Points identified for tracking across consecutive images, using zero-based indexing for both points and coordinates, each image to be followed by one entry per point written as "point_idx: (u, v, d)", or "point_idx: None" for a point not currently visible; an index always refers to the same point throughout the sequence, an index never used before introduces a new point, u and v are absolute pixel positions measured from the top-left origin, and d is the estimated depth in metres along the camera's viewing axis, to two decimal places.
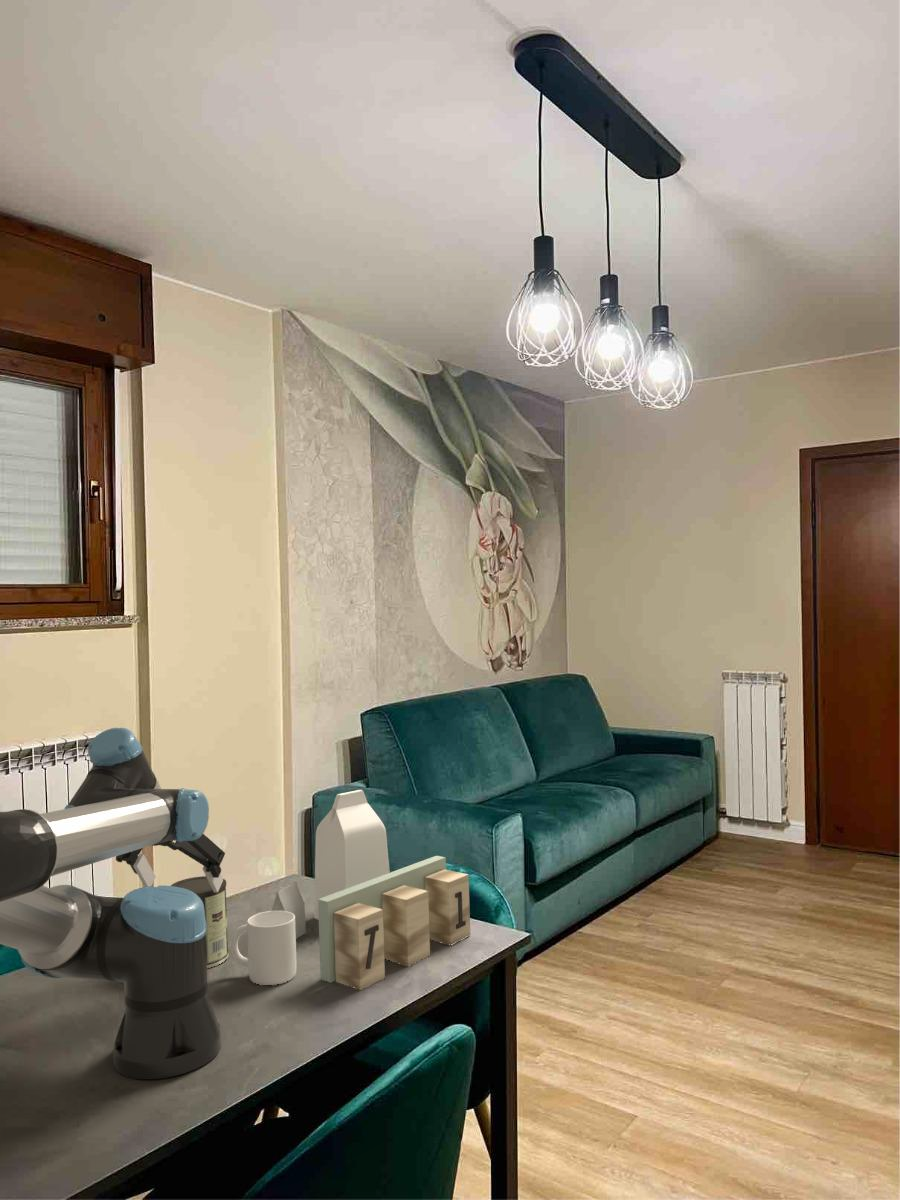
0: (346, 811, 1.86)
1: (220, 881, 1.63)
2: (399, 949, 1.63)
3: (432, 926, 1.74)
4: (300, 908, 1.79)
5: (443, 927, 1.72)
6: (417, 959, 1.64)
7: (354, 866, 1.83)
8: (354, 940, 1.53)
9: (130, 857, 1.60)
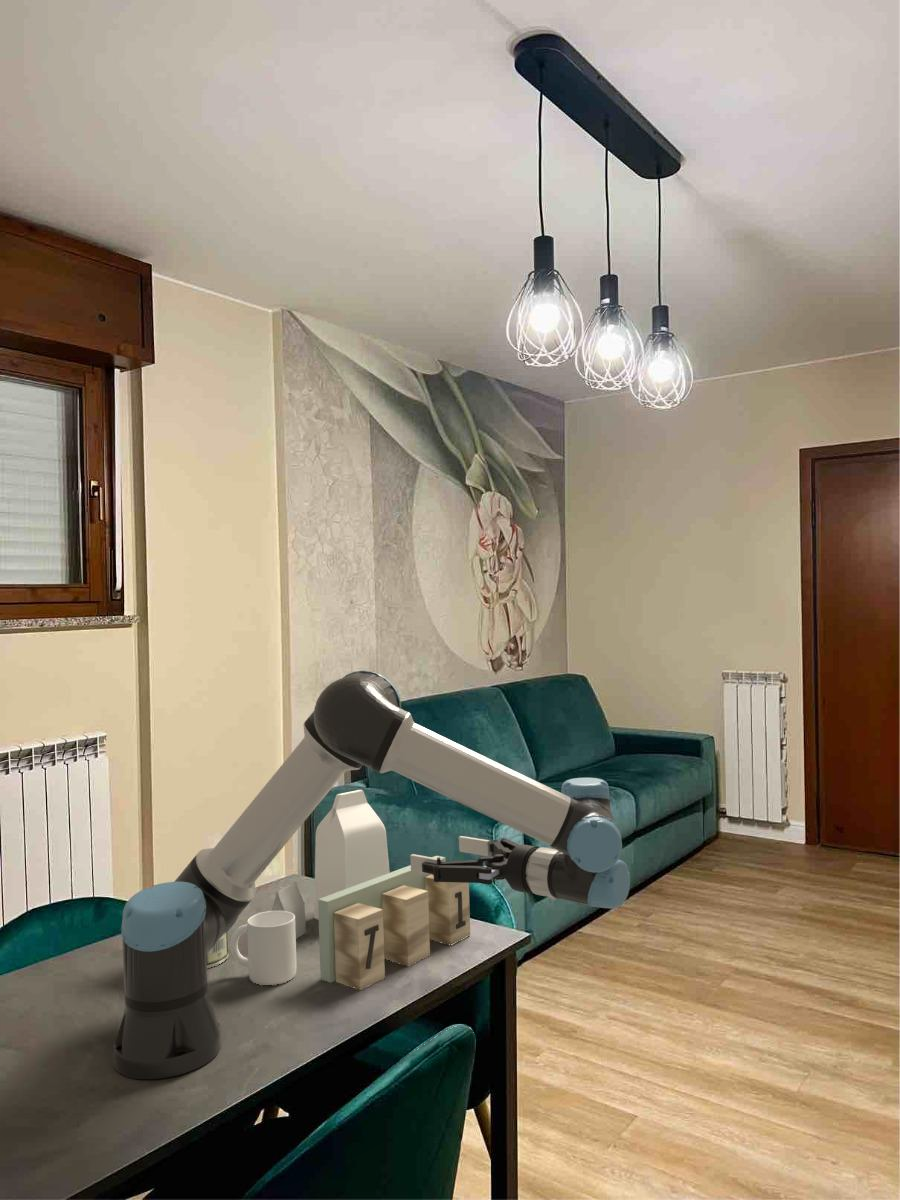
0: (346, 811, 1.86)
1: (413, 866, 1.55)
2: (399, 949, 1.63)
3: (432, 926, 1.74)
4: (300, 908, 1.79)
5: (443, 927, 1.72)
6: (417, 959, 1.64)
7: (354, 866, 1.83)
8: (354, 940, 1.53)
9: (498, 843, 1.61)
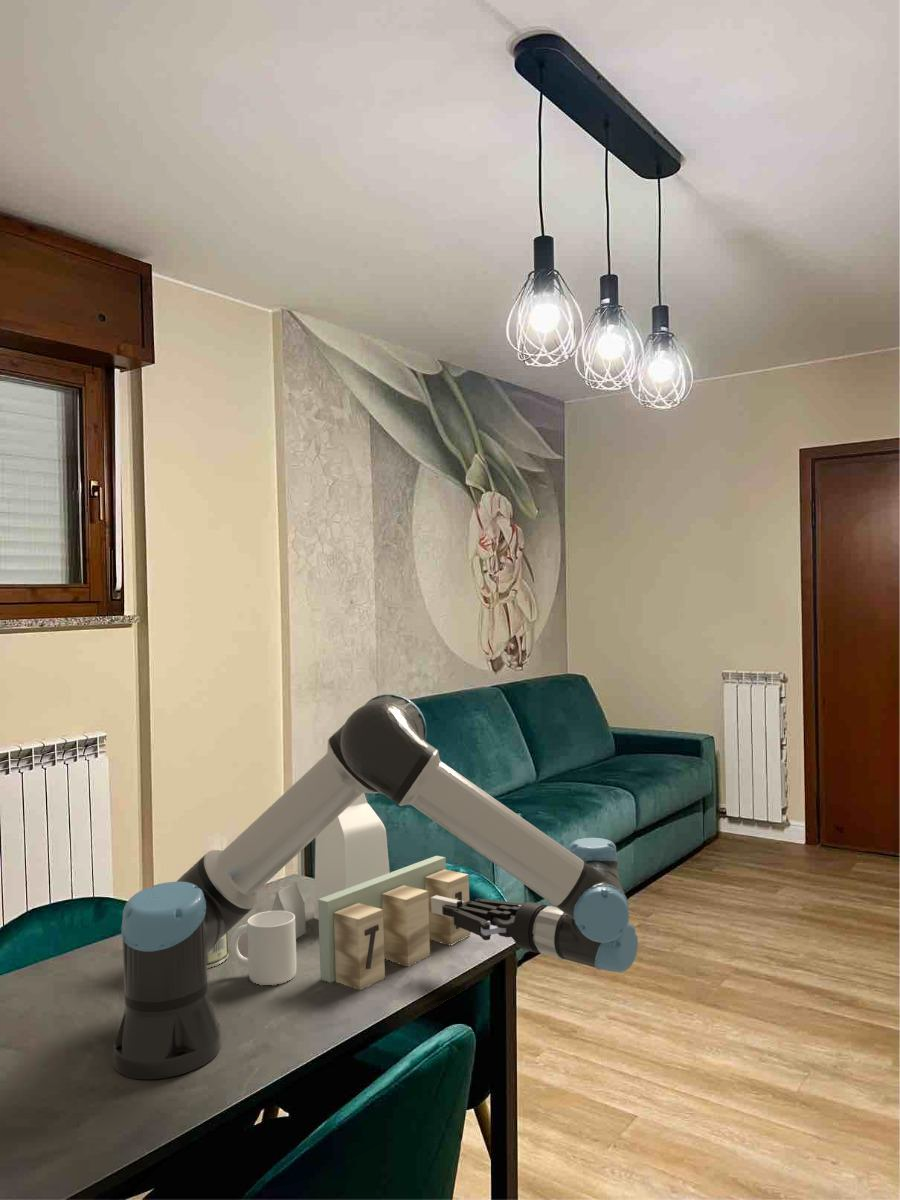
0: (346, 811, 1.86)
1: (434, 908, 1.61)
2: (399, 949, 1.63)
3: (432, 926, 1.74)
4: (300, 908, 1.79)
5: (443, 927, 1.72)
6: (417, 959, 1.64)
7: (354, 866, 1.83)
8: (354, 940, 1.53)
9: (478, 903, 1.58)
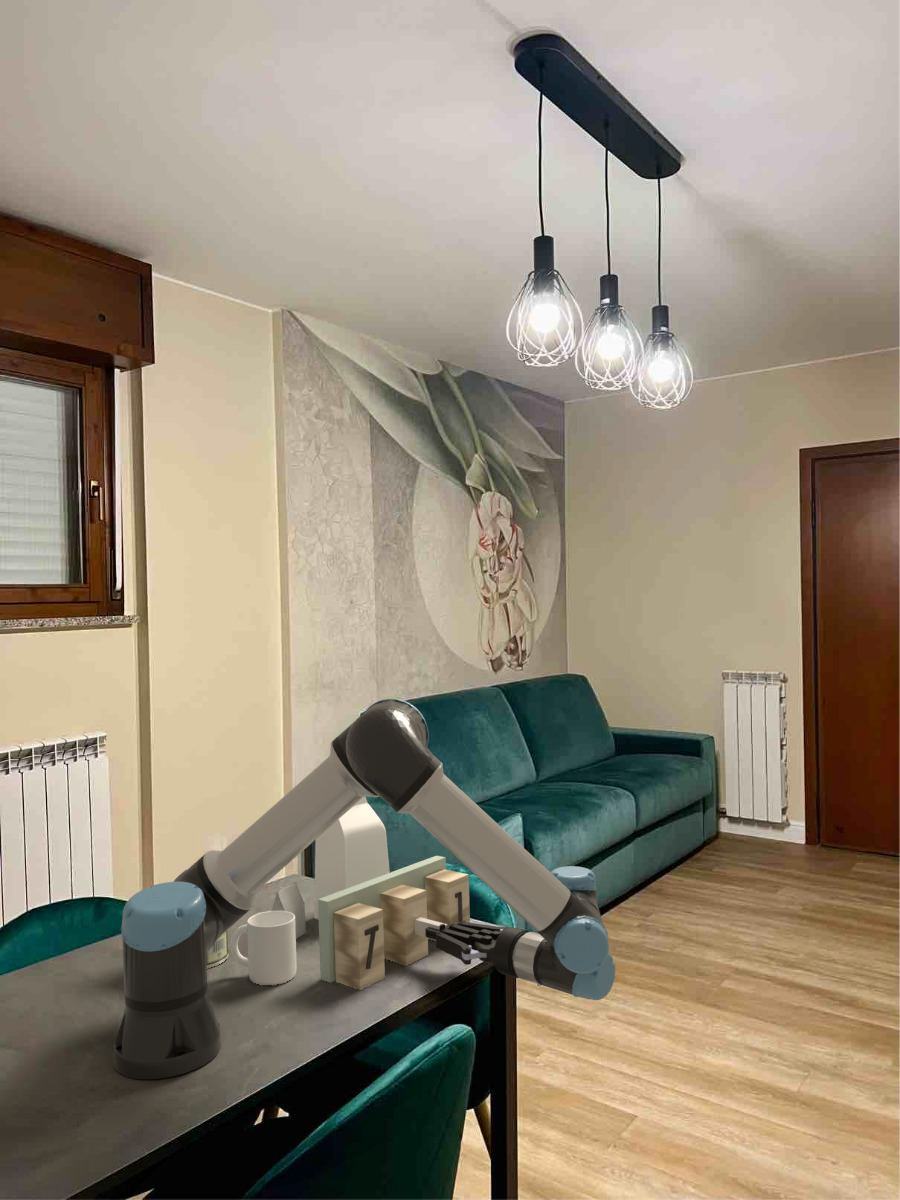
0: None
1: (417, 930, 1.63)
2: (398, 948, 1.64)
3: None
4: (300, 908, 1.79)
5: None
6: (415, 958, 1.64)
7: (354, 866, 1.83)
8: (354, 940, 1.53)
9: (461, 926, 1.60)
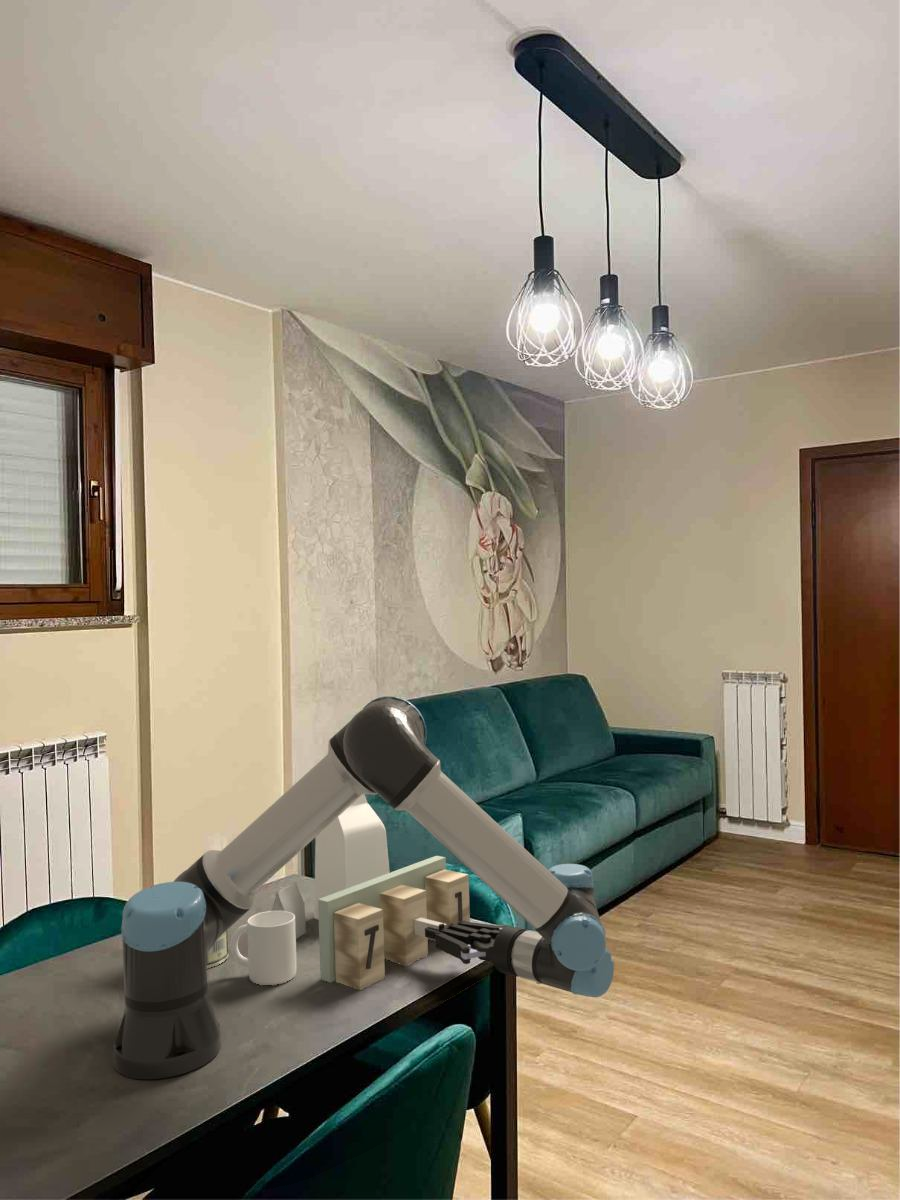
0: (346, 811, 1.86)
1: (417, 930, 1.64)
2: (397, 949, 1.64)
3: None
4: (300, 908, 1.79)
5: None
6: (415, 958, 1.64)
7: (354, 866, 1.83)
8: (354, 940, 1.53)
9: (460, 926, 1.60)
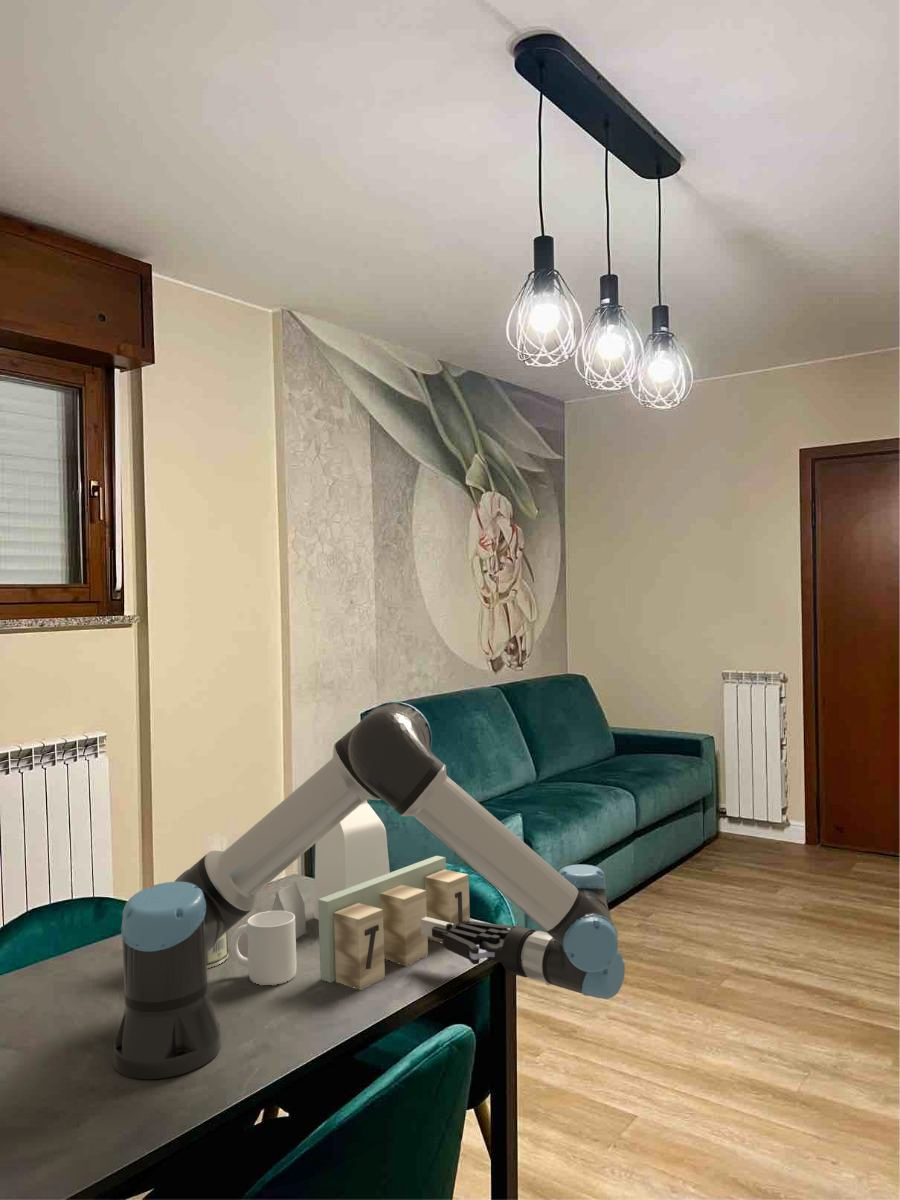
0: None
1: (423, 930, 1.62)
2: (397, 949, 1.64)
3: None
4: (300, 908, 1.79)
5: None
6: (415, 958, 1.64)
7: (354, 866, 1.83)
8: (354, 940, 1.53)
9: (467, 925, 1.59)
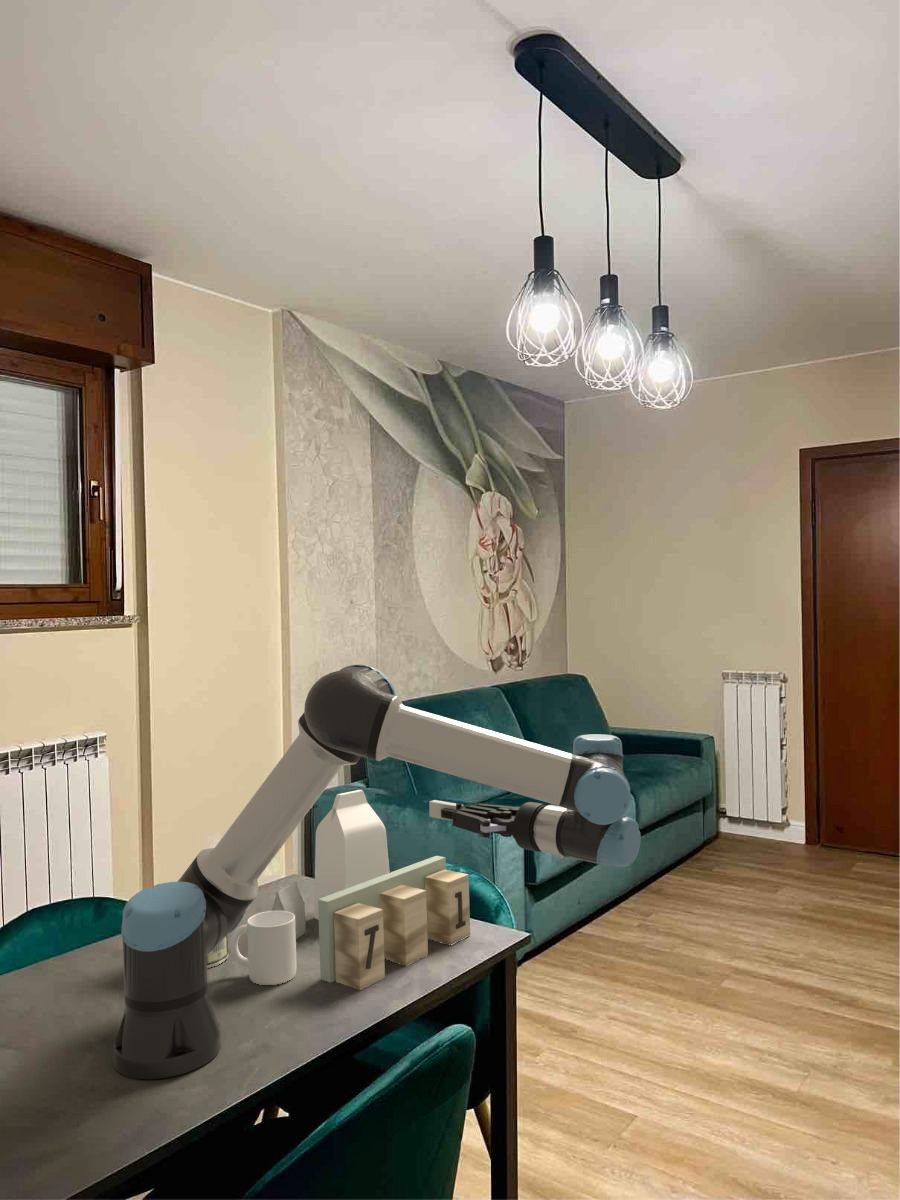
0: (346, 811, 1.86)
1: (432, 812, 1.59)
2: (397, 949, 1.64)
3: (432, 926, 1.74)
4: (300, 908, 1.79)
5: (443, 927, 1.72)
6: (415, 958, 1.64)
7: (354, 866, 1.83)
8: (355, 940, 1.53)
9: (477, 806, 1.55)
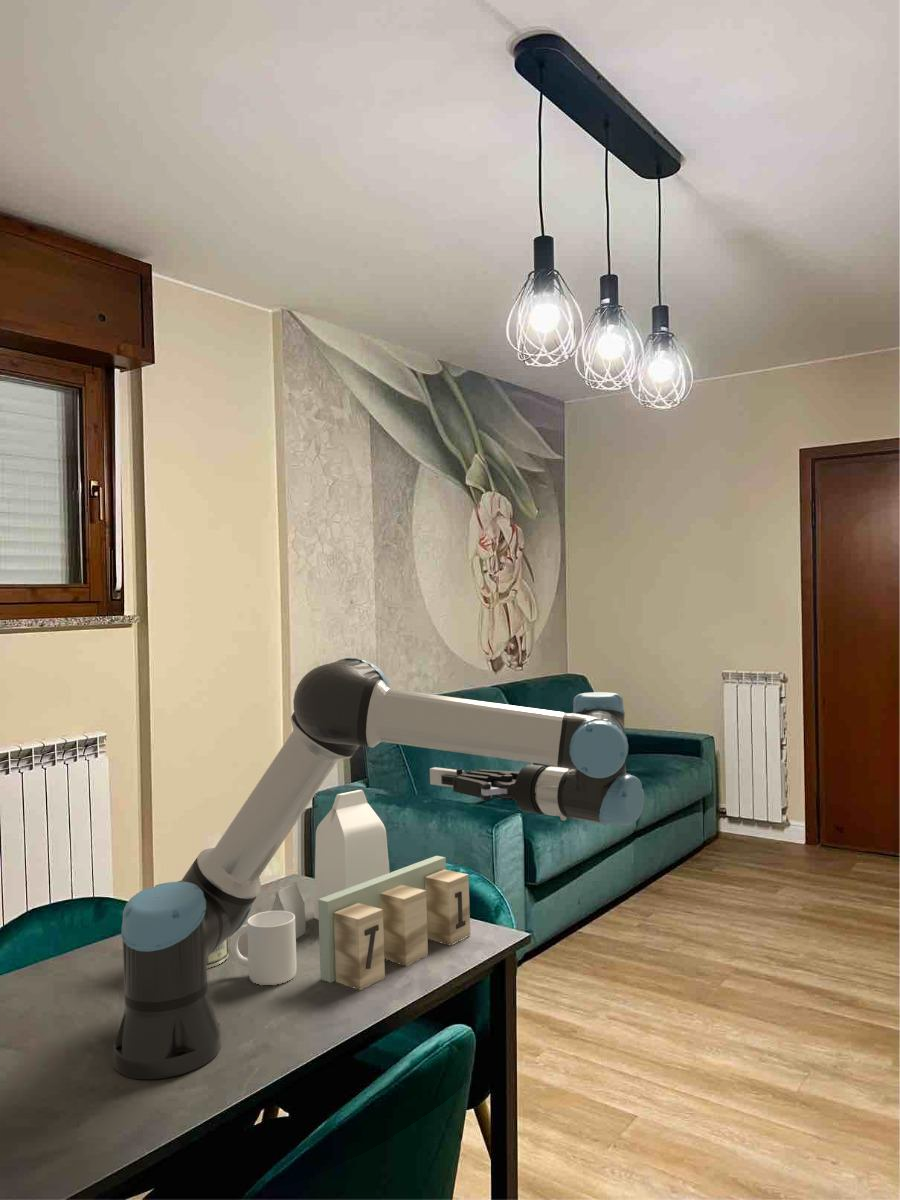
0: (346, 811, 1.86)
1: (432, 780, 1.56)
2: (397, 949, 1.64)
3: (432, 926, 1.74)
4: (300, 908, 1.79)
5: (443, 927, 1.72)
6: (415, 958, 1.64)
7: (354, 866, 1.83)
8: (354, 940, 1.53)
9: (478, 772, 1.53)
